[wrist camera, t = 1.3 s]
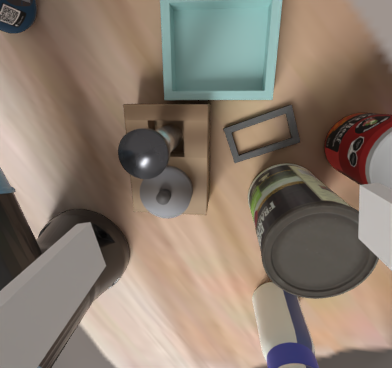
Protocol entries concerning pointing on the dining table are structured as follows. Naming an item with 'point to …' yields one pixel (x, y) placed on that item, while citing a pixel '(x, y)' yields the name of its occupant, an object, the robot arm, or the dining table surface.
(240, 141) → the dining table surface
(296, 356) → the water bottle
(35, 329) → the robot arm
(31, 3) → the soda can
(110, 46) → the dining table surface
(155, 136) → the pin
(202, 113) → the block
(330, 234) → the coffee can
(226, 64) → the tray
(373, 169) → the canned food
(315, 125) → the dining table surface
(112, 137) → the dining table surface
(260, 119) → the gray rectangular frame
